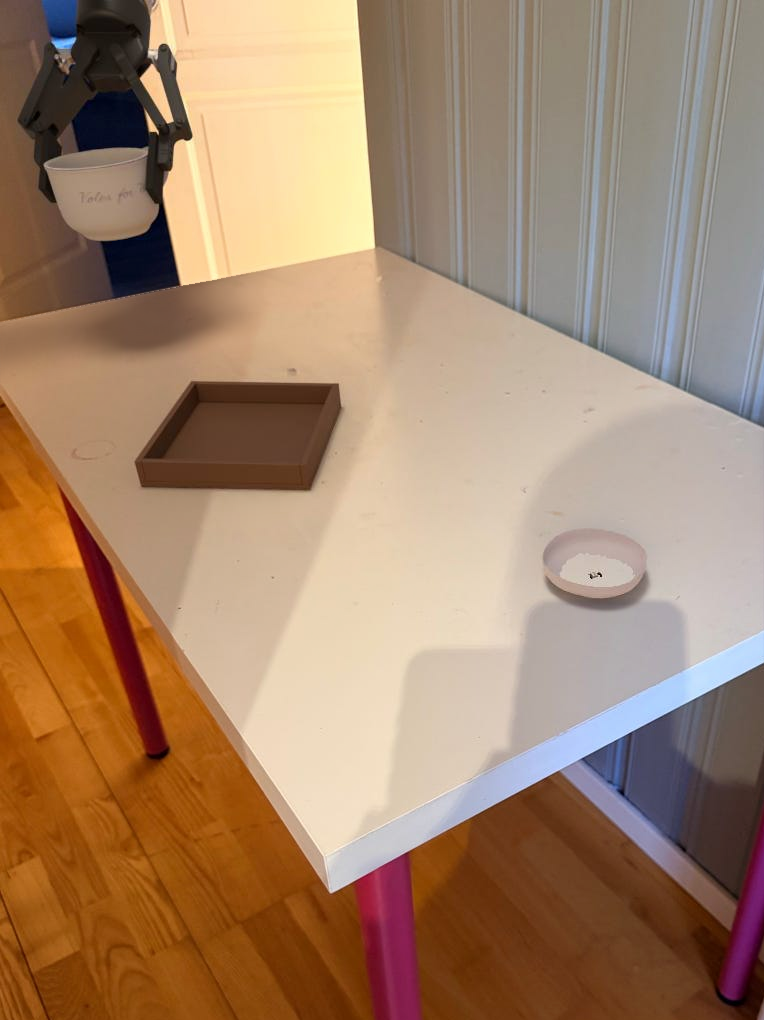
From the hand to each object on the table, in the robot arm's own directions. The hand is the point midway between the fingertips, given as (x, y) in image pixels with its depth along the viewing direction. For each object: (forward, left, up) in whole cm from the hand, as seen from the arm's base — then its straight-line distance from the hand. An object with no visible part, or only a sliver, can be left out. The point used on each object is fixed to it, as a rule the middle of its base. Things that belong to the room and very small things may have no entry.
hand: (100, 196), depth 98 cm
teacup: (+1, +3, -4) cm, 5 cm away
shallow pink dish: (+51, -46, -16) cm, 71 cm away
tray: (+19, -25, -16) cm, 36 cm away
